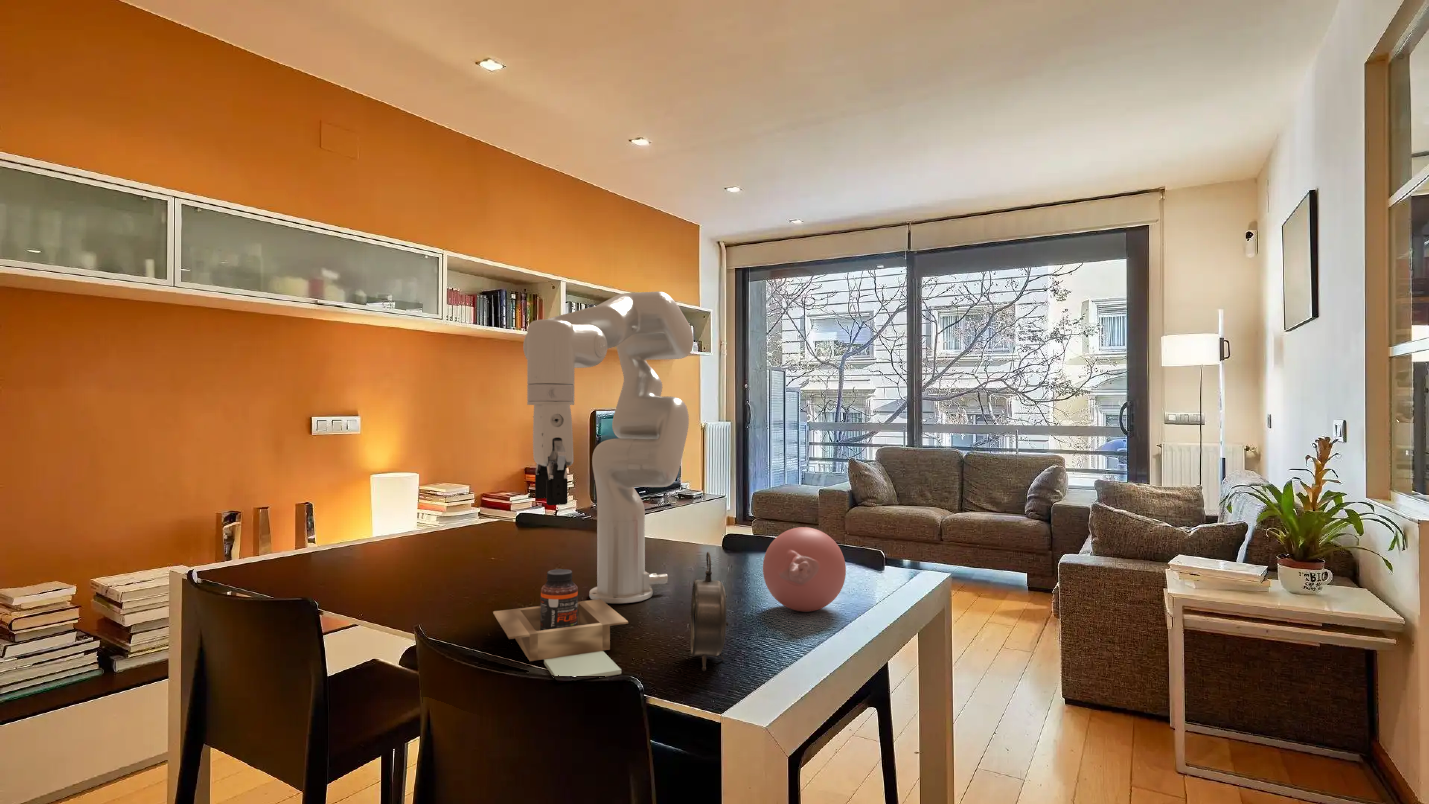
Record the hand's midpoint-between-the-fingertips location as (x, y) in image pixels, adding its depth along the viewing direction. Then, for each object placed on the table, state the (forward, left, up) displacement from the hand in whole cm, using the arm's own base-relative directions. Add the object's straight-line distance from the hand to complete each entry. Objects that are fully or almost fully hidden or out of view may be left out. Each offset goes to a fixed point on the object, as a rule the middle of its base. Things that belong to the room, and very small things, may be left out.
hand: (550, 501), depth 119 cm
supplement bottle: (-1, +1, -23) cm, 23 cm away
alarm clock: (-19, +20, -23) cm, 36 cm away
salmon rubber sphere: (-45, +4, -23) cm, 51 cm away
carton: (-1, +1, -23) cm, 23 cm away
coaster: (-1, +15, -23) cm, 27 cm away
